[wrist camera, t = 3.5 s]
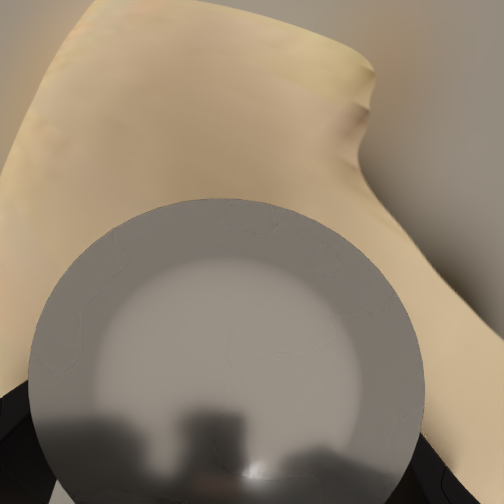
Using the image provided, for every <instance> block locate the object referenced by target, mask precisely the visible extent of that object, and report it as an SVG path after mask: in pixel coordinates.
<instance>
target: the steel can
mask: <svg viewBox="0 0 504 504" xmlns="http://www.w3.org/2000/svg"><path fill="white" fill-rule="evenodd" d="M28 389H29V401H30V408H31V415H32V420H33V424H34V427H35V431H36V434H37V438H38V441H39V444H40V446H41V448H42V451H43V453H44V456H45V458H46V460H47V462H48V464H49V466H50V468H51V470H52V471H53V473H54V475H55V476H56V478H57V480H58V481H59V483H60V485H61V486H62V487H63V489H64V490H65V491H66V493H67V494H68V495H69V497H70V498H71V499H72V500H73V502H74V503H75V504H384V503H385V502H386V501H387V499H388V498H389V496H390V495H391V493H392V492H393V491H394V489H395V488H396V486H397V485H398V483H399V482H400V480H401V478H402V476H403V474H404V472H405V470H406V468H407V466H408V464H409V462H410V460H411V458H412V455H413V452H414V449H415V447H416V444H417V441H418V438H419V434H420V429H421V424H422V418H423V413H424V397H425V381H424V370H423V361H422V357H421V352H420V348H419V344H418V340H417V336H416V334H415V331H414V329H413V326H412V323H411V321H410V318H409V316H408V313H407V312H406V310H405V308H404V306H403V304H402V302H401V301H400V299H399V297H398V295H397V294H396V292H395V290H394V289H393V288H392V286H391V285H390V284H389V282H388V281H387V280H386V278H385V277H384V276H383V274H382V273H381V272H380V270H379V269H378V268H377V267H376V266H375V265H374V264H373V263H372V262H371V261H370V260H369V259H368V258H367V257H366V256H365V255H364V254H363V253H362V252H361V251H360V250H359V249H357V248H356V247H355V246H353V245H352V244H351V243H350V242H348V241H347V240H346V239H344V238H343V237H342V236H341V235H339V234H338V233H336V232H334V231H332V230H331V229H329V228H327V227H326V226H324V225H322V224H320V223H319V222H317V221H315V220H313V219H310V218H308V217H306V216H303V215H301V214H299V213H296V212H294V211H291V210H288V209H285V208H281V207H277V206H274V205H270V204H267V203H261V202H255V201H248V200H241V199H202V200H193V201H185V202H180V203H176V204H172V205H168V206H164V207H160V208H157V209H154V210H152V211H149V212H146V213H144V214H141V215H139V216H136V217H134V218H132V219H130V220H128V221H127V222H125V223H123V224H121V225H119V226H117V227H116V228H114V229H112V230H111V231H109V232H108V233H107V234H105V235H104V236H102V237H101V238H100V239H98V240H97V241H96V242H94V243H93V244H92V245H91V246H90V247H89V248H88V249H87V250H85V251H84V252H83V253H82V254H81V255H80V256H79V257H78V258H77V259H76V260H75V261H74V262H73V264H72V265H71V266H70V267H69V269H68V270H67V271H66V272H65V274H64V275H63V276H62V277H61V279H60V280H59V282H58V283H57V285H56V287H55V288H54V290H53V292H52V293H51V295H50V297H49V298H48V300H47V302H46V304H45V307H44V309H43V311H42V314H41V316H40V319H39V321H38V324H37V327H36V331H35V335H34V338H33V342H32V346H31V353H30V361H29V369H28Z"/></svg>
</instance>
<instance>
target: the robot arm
mask: <svg viewBox="0 0 504 504" xmlns="http://www.w3.org/2000/svg"><path fill="white" fill-rule="evenodd" d="M56 481H57V478H56V476H55V475H54V473H53V471H52V470H51V468H50V466H49V464H48V462H47V460H46V458H45V456H44V453H43V451H42V448H41V446H40V444H39V441H38V438H37V434H36V431H35V427H34V424H33V420H32V415H31V408H30V401H29V389H28V380H26V381H25V382H24V383H22V384H21V385H19V386H18V387H16V388H15V389H13V390H12V391H10V392H9V393H7V394H6V395H4V396H3V397H2V398H0V504H49V502H50V499H51V496H52V493H53V490H54V487H55V484H56ZM384 504H480V503H479V501H478V500H477V499H476V498H475V497H474V496H473V495H472V494H471V493H470V492H469V491H468V490H467V489H466V488H465V487H464V486H463V485H462V484H461V483H460V482H459V480H458V479H457V478H456V477H455V476H454V474H453V473H452V472H451V471H450V469H449V468H448V467H447V466H445V463H444V462H443V461H442V459H441V458H440V457H439V455H438V454H437V453H436V452H435V450H434V449H433V448H432V447H431V445H430V444H429V443H428V442H427V440H426V439H425V438H424V436H423V435H422V434H421V433H420V434H419V438H418V441H417V444H416V447H415V449H414V452H413V455H412V458H411V460H410V462H409V464H408V466H407V468H406V470H405V472H404V474H403V476H402V478H401V480H400V482H399V483H398V485H397V486H396V488H395V489H394V491H393V492H392V493H391V495H390V496H389V498H388V499H387V501H386V502H385V503H384Z"/></svg>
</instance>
